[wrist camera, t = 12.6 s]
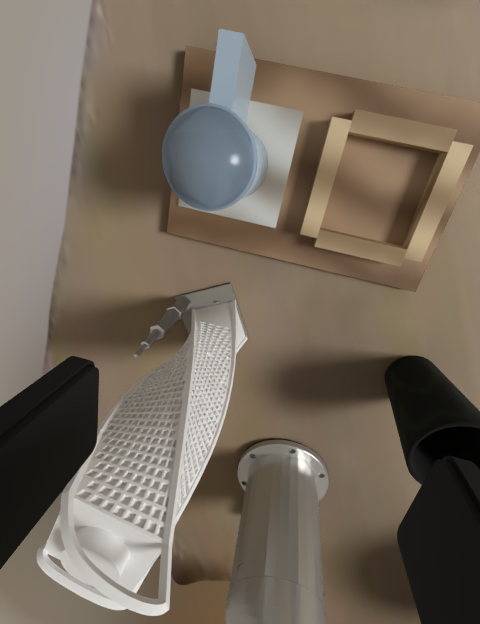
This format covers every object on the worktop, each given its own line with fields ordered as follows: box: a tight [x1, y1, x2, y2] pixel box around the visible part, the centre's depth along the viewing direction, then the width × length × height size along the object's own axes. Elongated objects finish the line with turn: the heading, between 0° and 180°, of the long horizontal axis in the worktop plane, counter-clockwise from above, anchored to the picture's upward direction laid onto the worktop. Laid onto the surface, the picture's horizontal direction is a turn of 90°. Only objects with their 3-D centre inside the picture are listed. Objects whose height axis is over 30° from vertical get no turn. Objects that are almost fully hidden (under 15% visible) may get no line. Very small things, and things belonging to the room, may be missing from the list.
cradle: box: [300, 109, 474, 266], centre depth 28 cm, size 11×11×2 cm
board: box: [167, 45, 480, 292], centre depth 30 cm, size 16×26×2 cm, turn 79°
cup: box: [385, 356, 480, 484], centre depth 31 cm, size 8×8×12 cm
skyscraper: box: [37, 283, 248, 616], centre depth 25 cm, size 8×8×28 cm
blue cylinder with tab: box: [162, 29, 268, 211], centre depth 25 cm, size 10×6×10 cm, turn 168°
